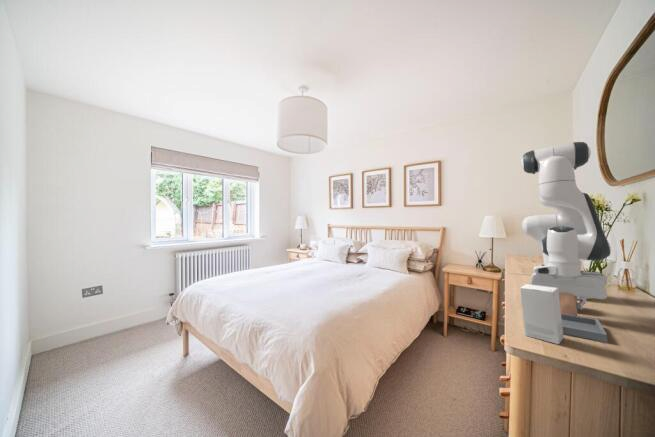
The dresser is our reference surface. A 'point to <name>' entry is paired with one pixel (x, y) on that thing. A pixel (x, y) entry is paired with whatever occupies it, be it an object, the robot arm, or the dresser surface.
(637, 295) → the dresser surface
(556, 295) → the skincare box
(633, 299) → the dresser surface
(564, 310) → the pinkish-tan rounded block
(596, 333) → the tray
